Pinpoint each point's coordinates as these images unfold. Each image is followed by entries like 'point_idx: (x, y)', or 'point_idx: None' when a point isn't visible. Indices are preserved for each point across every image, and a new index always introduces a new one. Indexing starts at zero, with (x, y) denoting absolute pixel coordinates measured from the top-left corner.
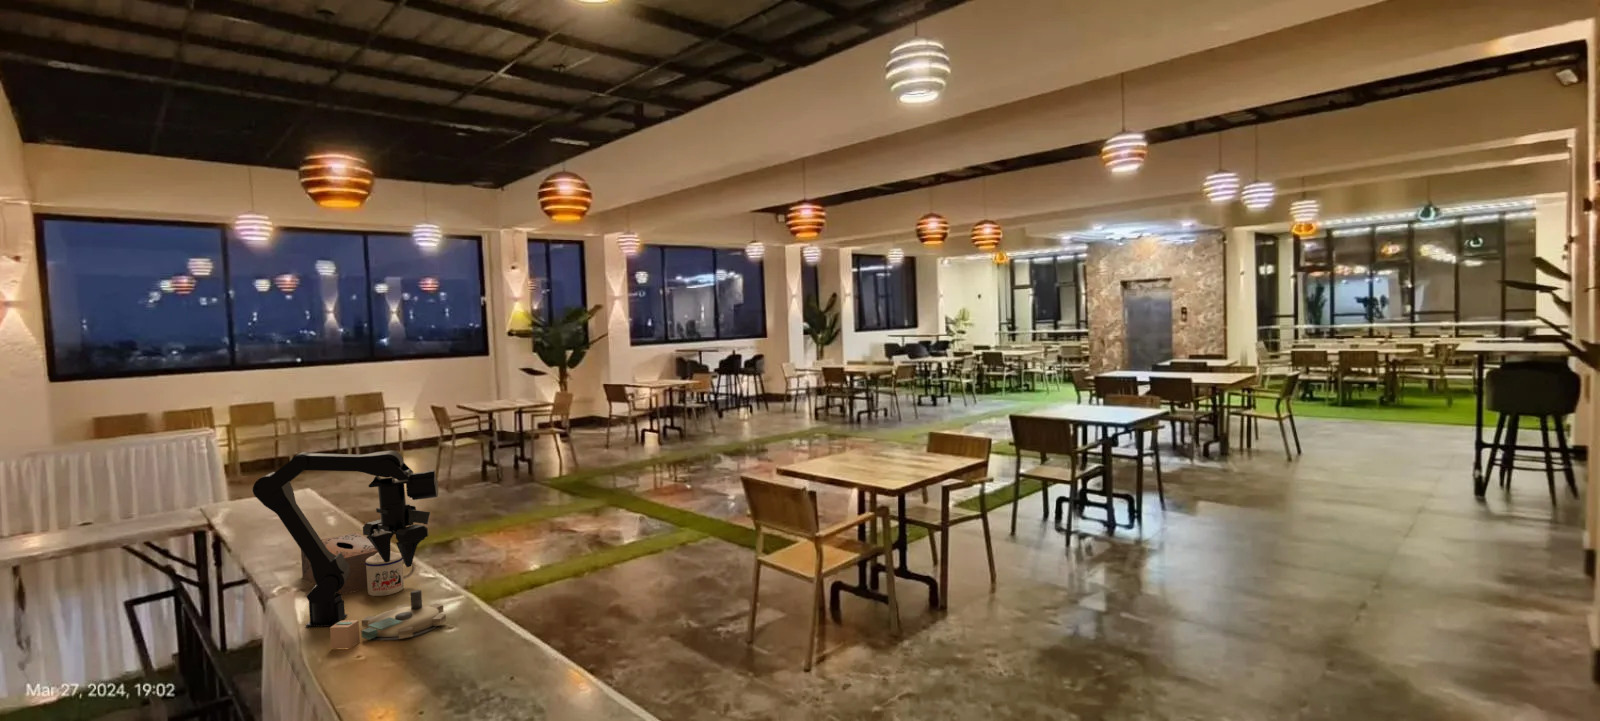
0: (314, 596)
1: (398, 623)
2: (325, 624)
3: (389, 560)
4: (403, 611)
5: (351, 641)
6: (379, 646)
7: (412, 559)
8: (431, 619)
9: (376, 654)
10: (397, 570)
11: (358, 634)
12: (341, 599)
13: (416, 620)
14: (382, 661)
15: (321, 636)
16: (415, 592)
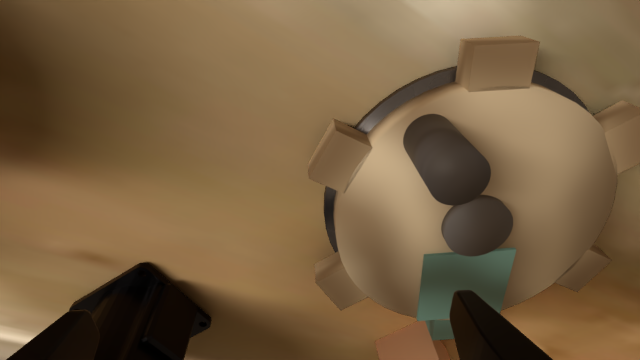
0: None
1: (511, 262)
2: (195, 334)
3: (83, 316)
4: (410, 193)
5: (446, 356)
6: (517, 305)
7: (524, 341)
8: (615, 175)
9: (556, 328)
10: None
11: (433, 341)
12: (141, 347)
13: (559, 214)
14: (610, 336)
15: (273, 353)
16: (469, 187)
